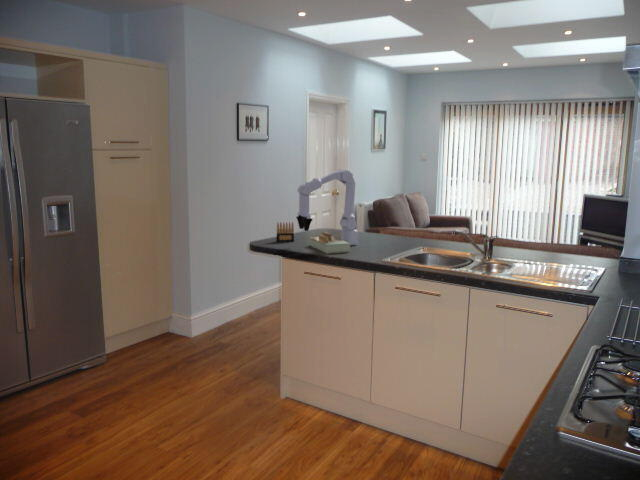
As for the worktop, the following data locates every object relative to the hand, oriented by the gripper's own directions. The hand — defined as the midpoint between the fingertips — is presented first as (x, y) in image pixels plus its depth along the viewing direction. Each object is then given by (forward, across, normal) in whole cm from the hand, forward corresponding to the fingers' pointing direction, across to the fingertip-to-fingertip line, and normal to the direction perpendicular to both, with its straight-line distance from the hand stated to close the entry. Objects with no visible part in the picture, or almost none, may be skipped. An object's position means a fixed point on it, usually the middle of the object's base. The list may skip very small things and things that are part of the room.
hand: (303, 229), depth 296 cm
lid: (+6, +5, +12) cm, 15 cm away
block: (+5, +13, +6) cm, 15 cm away
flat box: (+10, +9, +12) cm, 18 cm away
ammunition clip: (+10, -20, -4) cm, 23 cm away
